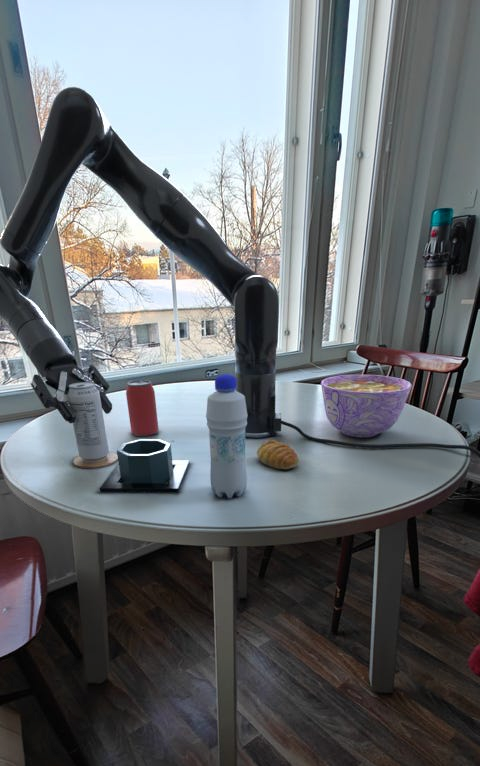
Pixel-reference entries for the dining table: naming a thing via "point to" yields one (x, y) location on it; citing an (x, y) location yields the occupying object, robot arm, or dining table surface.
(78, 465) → the cork coaster
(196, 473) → the dining table surface
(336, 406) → the bowl of food
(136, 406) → the beer can
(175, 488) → the can holder
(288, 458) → the pastry
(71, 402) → the energy drink can
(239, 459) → the bottle
